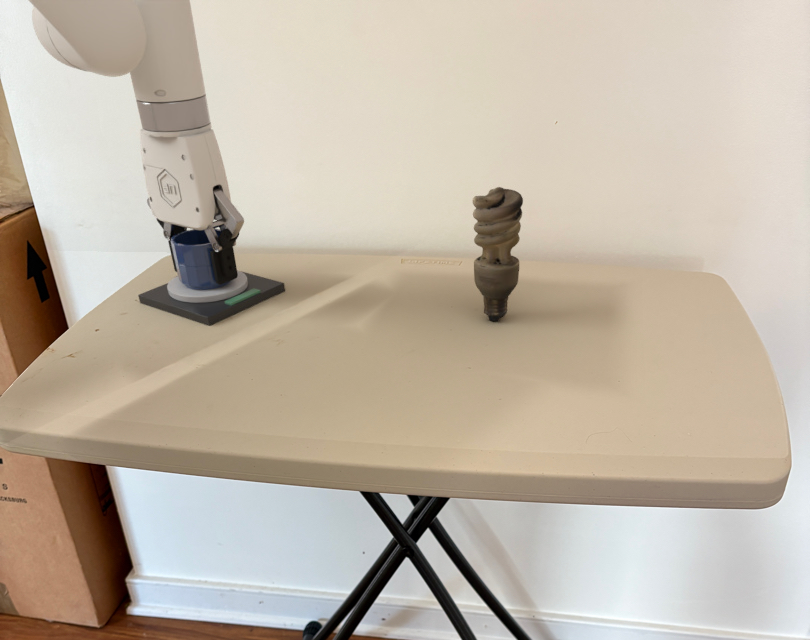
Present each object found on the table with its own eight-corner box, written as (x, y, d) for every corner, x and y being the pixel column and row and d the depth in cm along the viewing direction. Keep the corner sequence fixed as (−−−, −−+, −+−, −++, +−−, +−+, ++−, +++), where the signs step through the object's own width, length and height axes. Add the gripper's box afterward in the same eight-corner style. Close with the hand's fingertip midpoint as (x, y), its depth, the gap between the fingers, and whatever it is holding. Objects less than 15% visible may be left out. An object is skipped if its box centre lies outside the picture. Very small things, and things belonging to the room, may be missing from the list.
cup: (205, 295, 92) (196, 249, 89) (169, 284, 96) (159, 239, 92) (246, 278, 96) (238, 233, 93) (209, 268, 100) (201, 225, 96)
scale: (211, 336, 91) (206, 310, 89) (142, 313, 97) (136, 288, 95) (286, 301, 99) (283, 276, 97) (218, 281, 105) (214, 258, 103)
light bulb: (466, 326, 91) (469, 193, 81) (473, 308, 95) (476, 180, 85) (513, 329, 90) (521, 195, 80) (518, 311, 94) (527, 181, 84)
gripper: (99, 114, 86) (138, 271, 97) (201, 130, 78) (232, 299, 89) (151, 103, 91) (183, 254, 102) (254, 116, 82) (276, 279, 94)
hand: (206, 273), depth 95 cm, fingers closed on cup, 6 cm apart
